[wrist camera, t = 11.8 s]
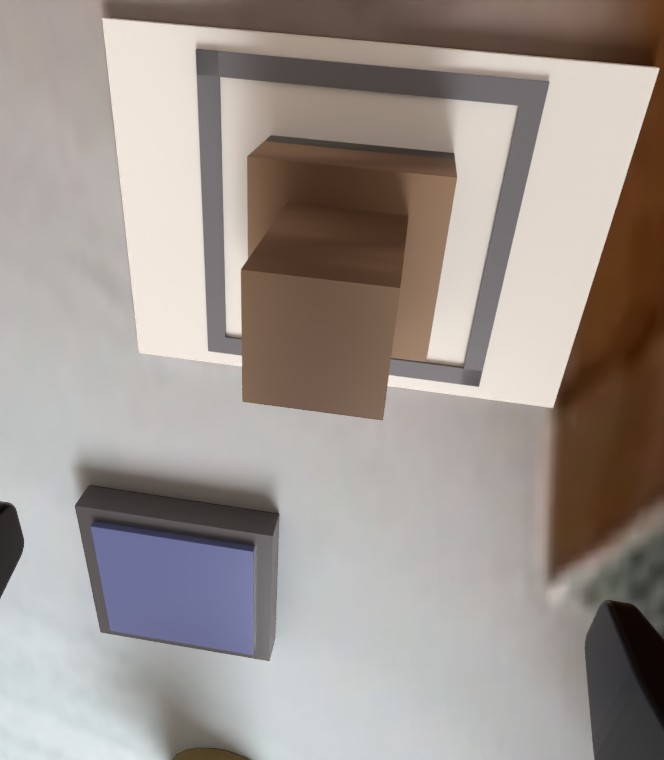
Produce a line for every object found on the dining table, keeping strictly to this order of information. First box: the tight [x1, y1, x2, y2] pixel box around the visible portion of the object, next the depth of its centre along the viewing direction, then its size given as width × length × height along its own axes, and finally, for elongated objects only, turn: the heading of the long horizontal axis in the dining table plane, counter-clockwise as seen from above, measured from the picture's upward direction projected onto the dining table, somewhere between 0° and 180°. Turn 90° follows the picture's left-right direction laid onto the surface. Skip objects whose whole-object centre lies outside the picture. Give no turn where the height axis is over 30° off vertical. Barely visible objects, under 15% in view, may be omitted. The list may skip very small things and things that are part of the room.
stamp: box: [241, 135, 457, 420], centre depth 15 cm, size 5×5×7 cm
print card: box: [102, 18, 660, 408], centre depth 19 cm, size 14×10×1 cm
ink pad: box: [75, 486, 279, 661], centre depth 27 cm, size 8×8×2 cm
